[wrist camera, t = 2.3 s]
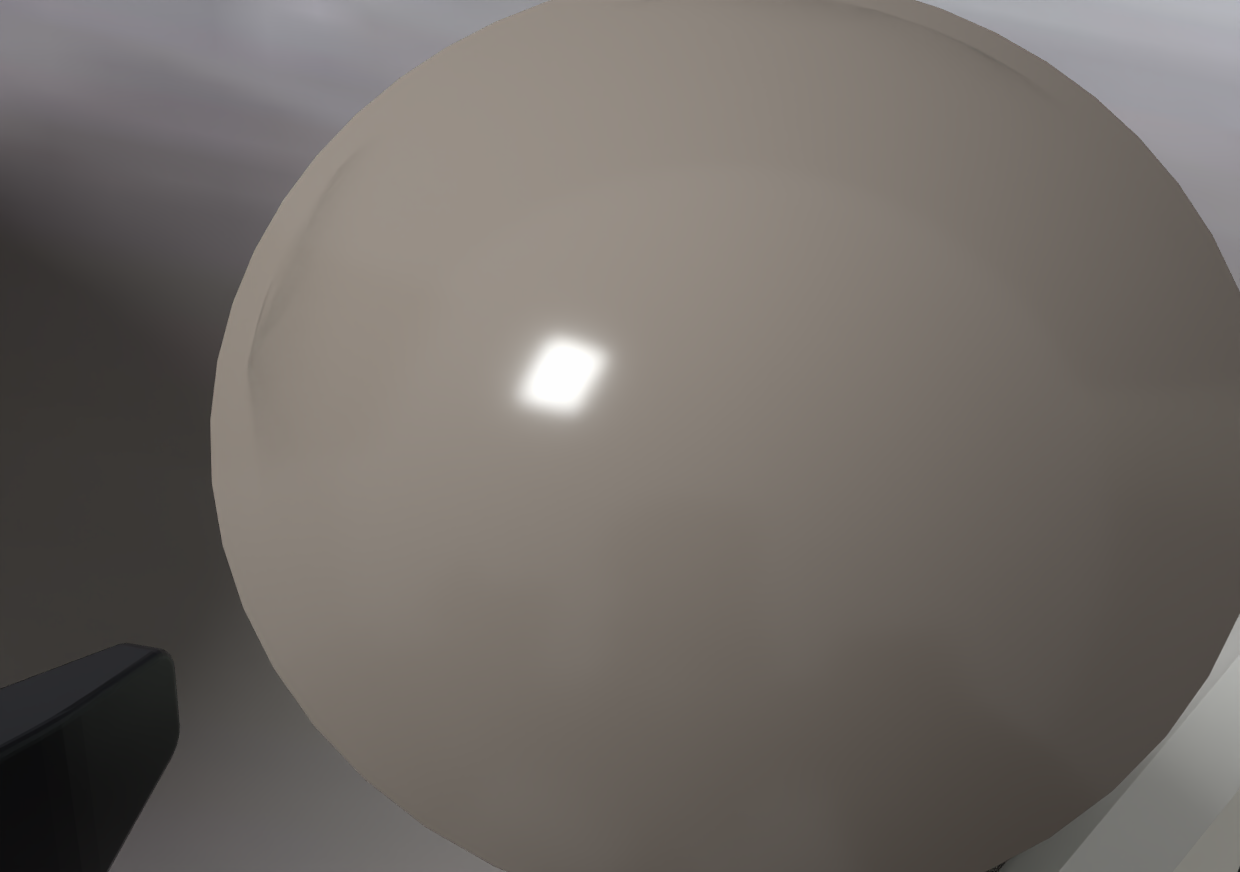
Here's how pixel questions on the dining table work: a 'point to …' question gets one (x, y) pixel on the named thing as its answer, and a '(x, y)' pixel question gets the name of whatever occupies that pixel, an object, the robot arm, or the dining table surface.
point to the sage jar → (735, 441)
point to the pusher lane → (1166, 797)
